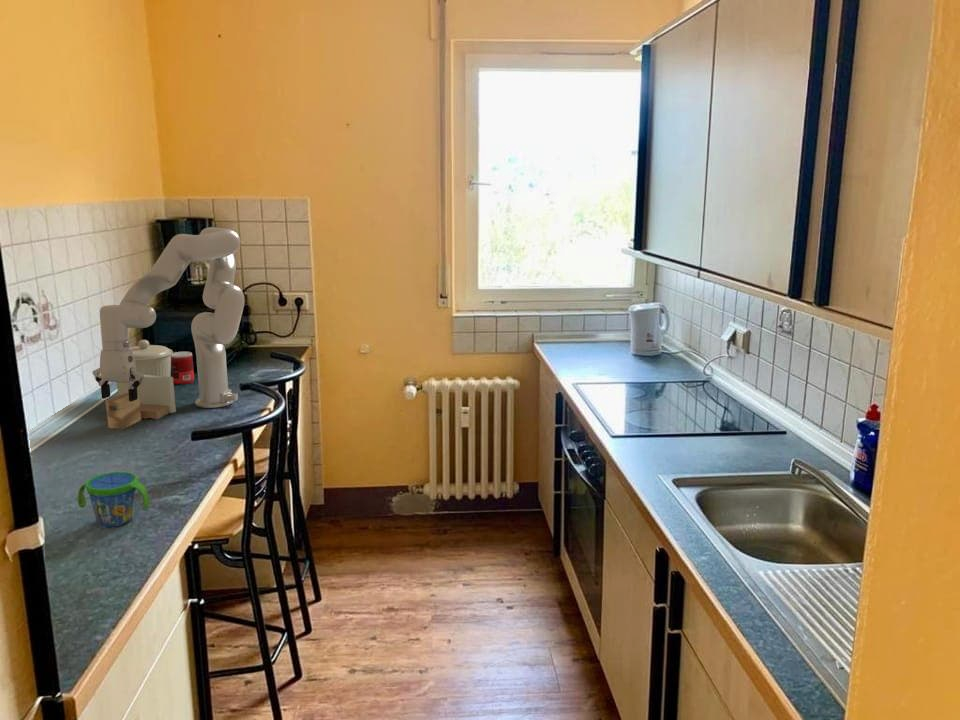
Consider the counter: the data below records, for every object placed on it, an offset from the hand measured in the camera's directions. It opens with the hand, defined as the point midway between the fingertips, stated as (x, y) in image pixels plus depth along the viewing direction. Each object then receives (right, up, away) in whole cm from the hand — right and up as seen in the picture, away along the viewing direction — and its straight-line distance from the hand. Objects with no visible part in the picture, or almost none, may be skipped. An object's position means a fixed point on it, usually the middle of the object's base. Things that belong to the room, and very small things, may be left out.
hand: (119, 399), depth 238 cm
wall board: (+1, -5, +13) cm, 14 cm away
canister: (-4, -2, +29) cm, 30 cm away
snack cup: (+29, -25, -63) cm, 74 cm away
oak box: (0, -8, +3) cm, 9 cm away
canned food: (0, +4, +50) cm, 51 cm away
